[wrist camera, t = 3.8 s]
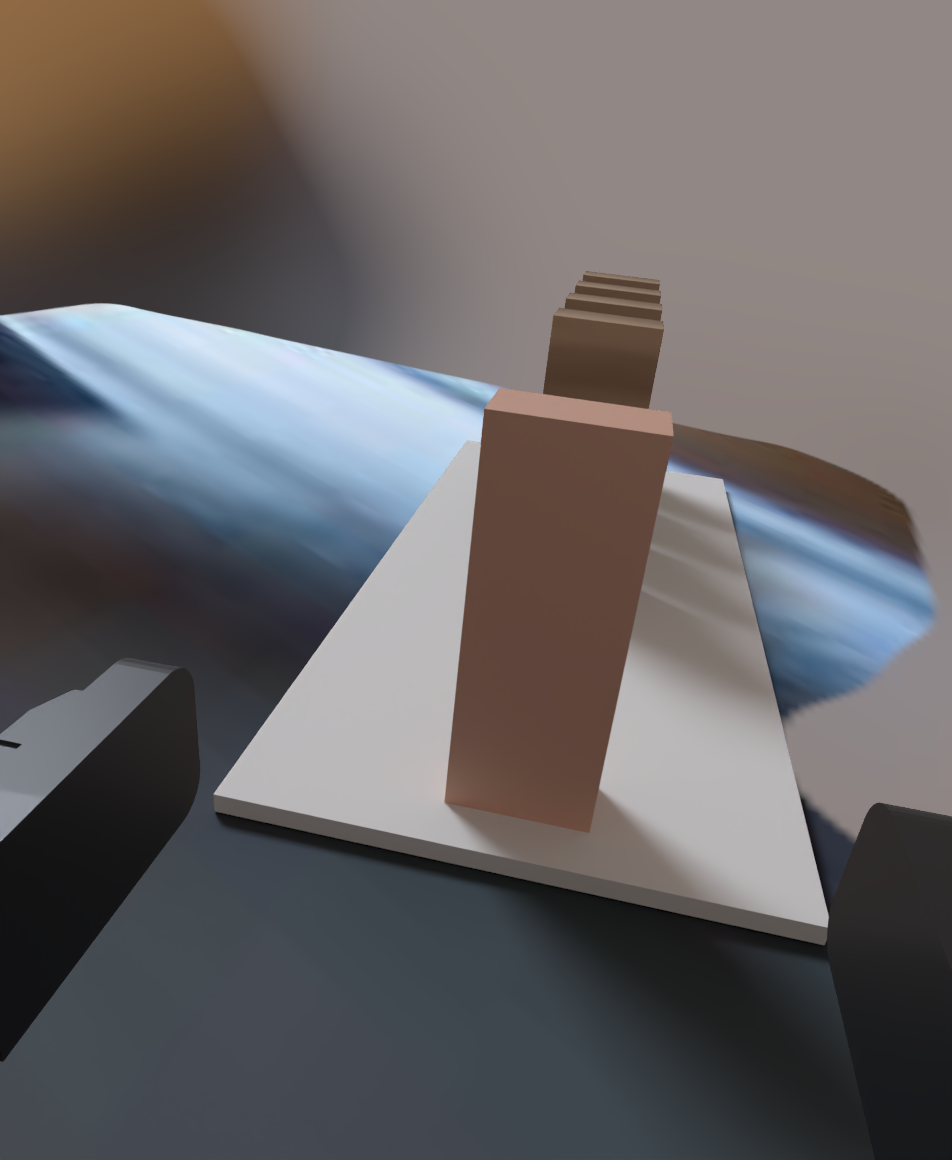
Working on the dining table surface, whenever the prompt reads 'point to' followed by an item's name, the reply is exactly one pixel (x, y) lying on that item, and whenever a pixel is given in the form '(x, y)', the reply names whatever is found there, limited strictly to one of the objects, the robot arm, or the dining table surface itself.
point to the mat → (635, 750)
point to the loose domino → (551, 600)
